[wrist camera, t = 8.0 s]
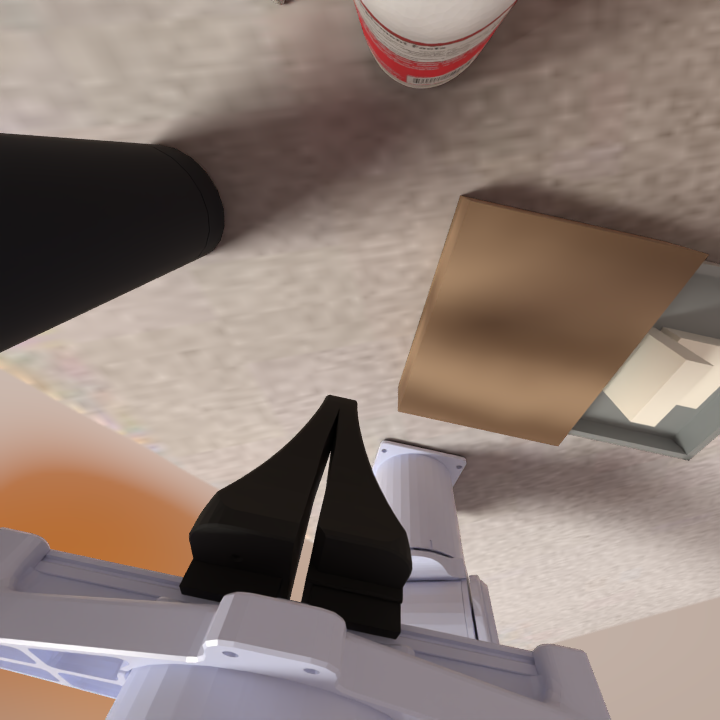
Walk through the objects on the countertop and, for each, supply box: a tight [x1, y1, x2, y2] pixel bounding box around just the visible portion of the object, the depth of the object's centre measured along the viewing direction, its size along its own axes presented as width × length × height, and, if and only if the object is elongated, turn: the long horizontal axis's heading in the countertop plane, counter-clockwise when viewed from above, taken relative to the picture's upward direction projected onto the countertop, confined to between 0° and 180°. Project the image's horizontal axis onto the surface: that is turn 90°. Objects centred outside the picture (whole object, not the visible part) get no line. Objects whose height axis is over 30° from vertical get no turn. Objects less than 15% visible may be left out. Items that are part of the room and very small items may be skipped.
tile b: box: [660, 327, 720, 409], centre depth 21 cm, size 4×4×2 cm
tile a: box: [603, 327, 714, 427], centre depth 19 cm, size 4×4×2 cm
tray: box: [568, 261, 720, 461], centre depth 21 cm, size 13×10×2 cm
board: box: [398, 195, 709, 446], centre depth 20 cm, size 14×12×3 cm
